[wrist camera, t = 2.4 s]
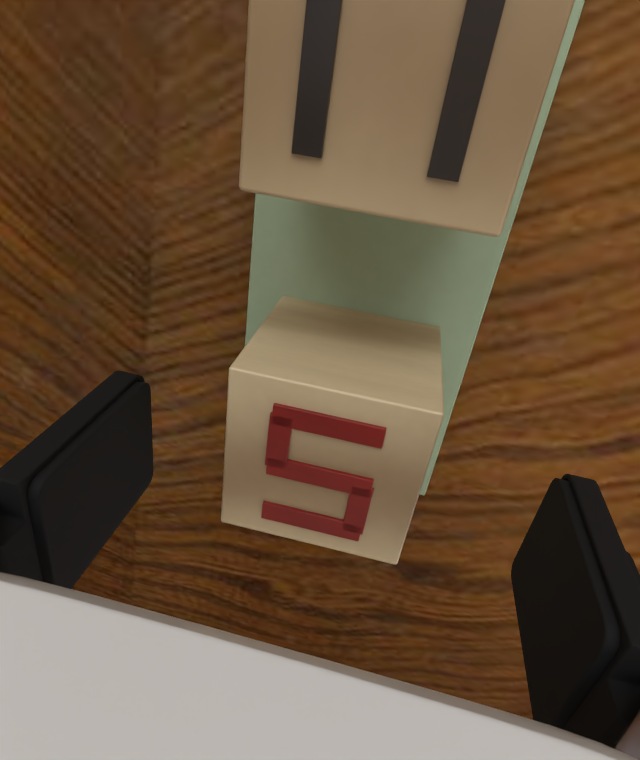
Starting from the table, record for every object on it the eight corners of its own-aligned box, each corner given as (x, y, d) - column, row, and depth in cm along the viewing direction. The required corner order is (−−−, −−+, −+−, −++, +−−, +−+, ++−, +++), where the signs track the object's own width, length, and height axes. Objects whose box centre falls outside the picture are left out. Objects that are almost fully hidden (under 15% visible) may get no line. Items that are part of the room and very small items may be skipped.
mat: (286, -172, 10) (280, -184, 10) (623, -134, 10) (632, -146, 9) (241, 444, 18) (237, 452, 18) (425, 486, 17) (424, 496, 17)
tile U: (320, -75, 10) (254, -180, 6) (545, -46, 10) (621, -139, 6) (296, 162, 13) (235, 192, 9) (478, 194, 12) (500, 240, 8)
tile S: (282, 294, 14) (226, 369, 10) (441, 326, 14) (445, 417, 10) (268, 423, 17) (218, 525, 13) (404, 454, 16) (396, 569, 12)
